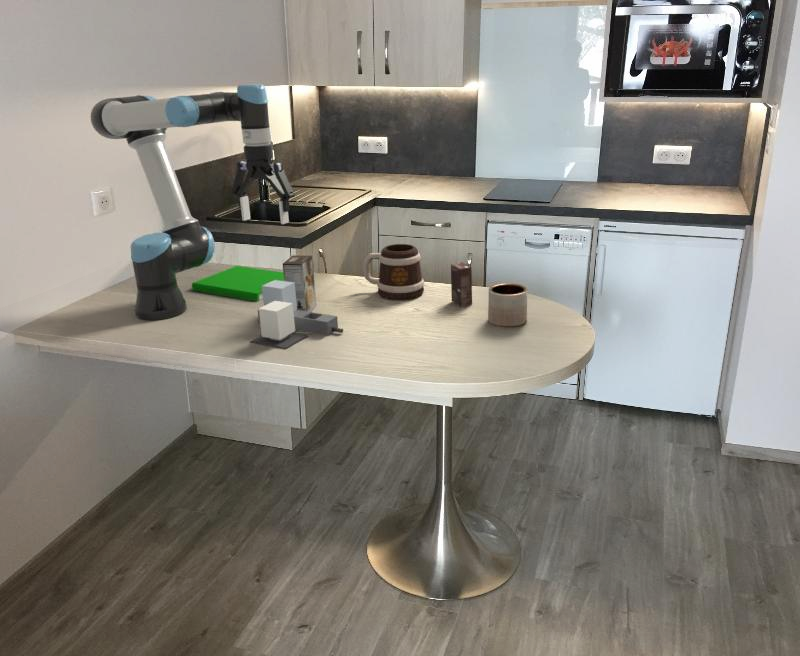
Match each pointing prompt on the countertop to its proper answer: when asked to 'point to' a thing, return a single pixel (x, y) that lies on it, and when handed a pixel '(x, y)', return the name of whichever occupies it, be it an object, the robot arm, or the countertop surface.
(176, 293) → the robot arm
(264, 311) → the block
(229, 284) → the book
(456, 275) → the box
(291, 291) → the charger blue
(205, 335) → the countertop surface
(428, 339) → the countertop surface
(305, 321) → the power strip
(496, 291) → the planter
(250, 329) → the countertop surface
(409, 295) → the mug
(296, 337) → the mat
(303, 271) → the coffee box
